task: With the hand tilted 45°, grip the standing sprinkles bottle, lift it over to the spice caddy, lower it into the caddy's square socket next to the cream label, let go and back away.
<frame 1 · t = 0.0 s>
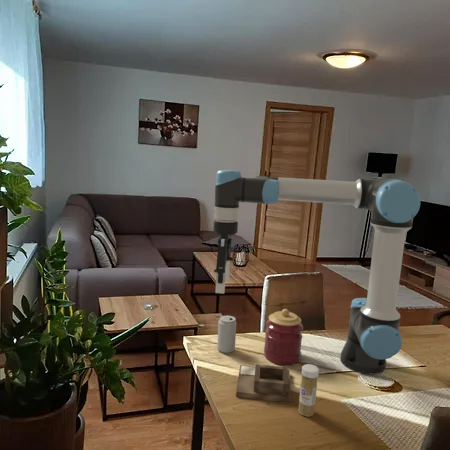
hand: (222, 286, 136), 28 cm above the table, tool pointing down, fingers open, 13 cm apart
spice caddy: (263, 384, 132), on the table
canister: (281, 357, 151), on the table
sprinkles bottle: (306, 413, 119), on the table
beverage can: (225, 350, 154), on the table
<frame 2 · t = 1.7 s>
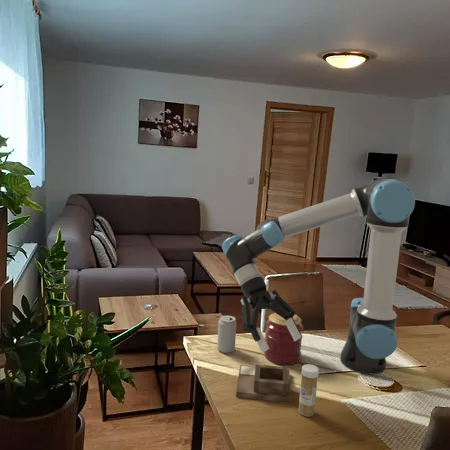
hand: (282, 345, 124), 16 cm above the table, tool tilted 45°, fingers open, 13 cm apart
nothing on the table moved.
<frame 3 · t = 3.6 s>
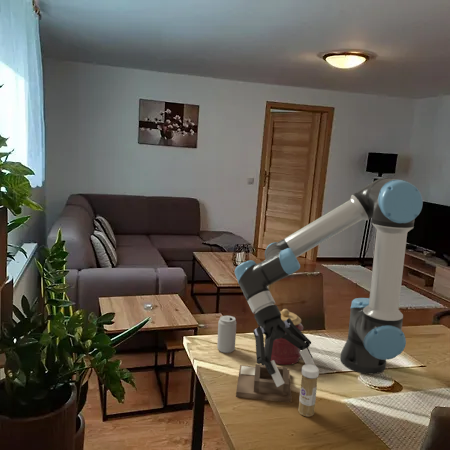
hand: (297, 378, 119), 9 cm above the table, tool tilted 45°, fingers open, 13 cm apart
nothing on the table moved.
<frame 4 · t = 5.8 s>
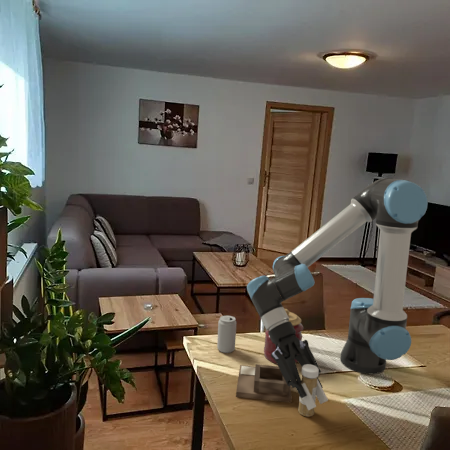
hand: (318, 405, 115), 4 cm above the table, tool tilted 45°, fingers closed on sprinkles bottle, 4 cm apart
sprinkles bottle: (306, 413, 119), on the table, touching gripper
everything else where it was.
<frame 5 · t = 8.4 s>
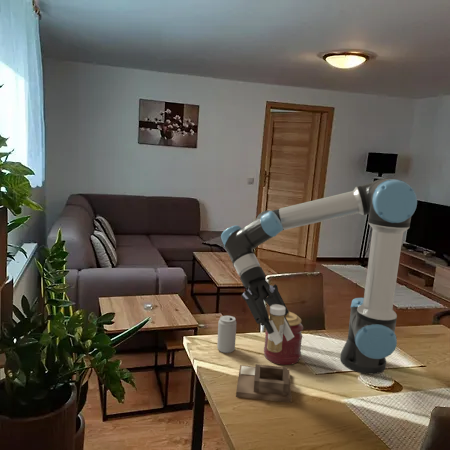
hand: (284, 340, 124), 17 cm above the table, tool tilted 45°, fingers closed on sprinkles bottle, 4 cm apart
sprinkles bottle: (274, 350, 127), point 13 cm above the table, touching gripper
everything else where it was.
when the fingers open (8 cm above the table, at t = 11.0 s): sprinkles bottle drops 2 cm, resting on spice caddy.
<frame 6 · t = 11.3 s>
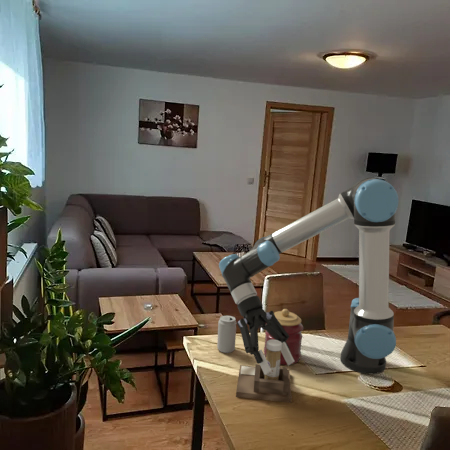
hand: (280, 368, 126), 8 cm above the table, tool tilted 45°, fingers open, 9 cm apart
sprinkles bottle: (271, 384, 130), point 1 cm above the table, touching spice caddy
everything else where it was.
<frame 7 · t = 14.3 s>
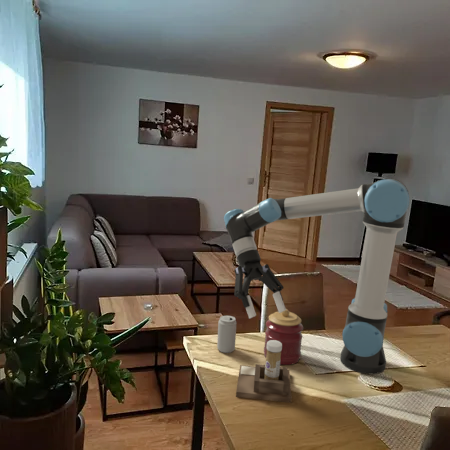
hand: (268, 314, 135), 20 cm above the table, tool tilted 40°, fingers open, 13 cm apart
nothing on the table moved.
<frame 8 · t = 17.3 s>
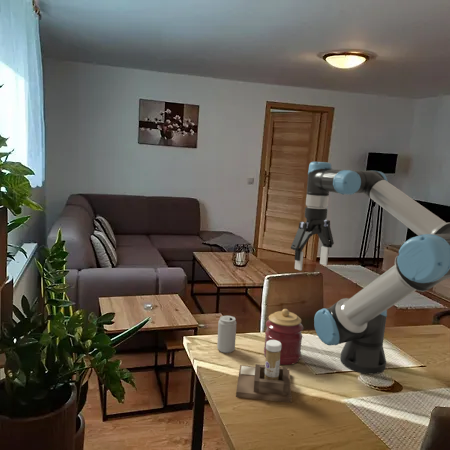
hand: (311, 267, 151), 32 cm above the table, tool pointing down, fingers open, 13 cm apart
nothing on the table moved.
at the end: sprinkles bottle 0.3 cm from the target spot on the spice caddy, point 1.3 cm above the spice caddy's base; sprinkles bottle tilted 1°; the gripper is holding nothing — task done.
